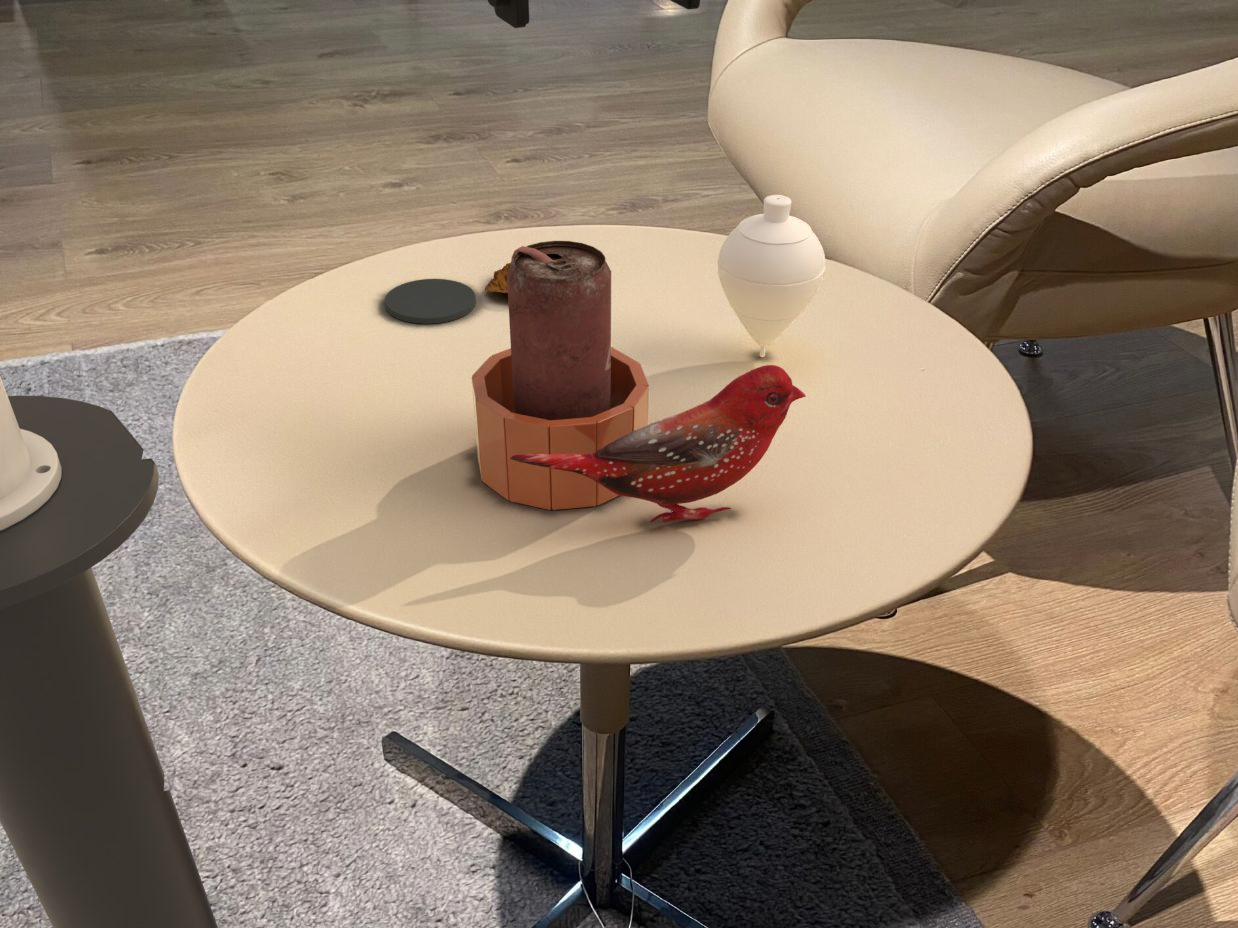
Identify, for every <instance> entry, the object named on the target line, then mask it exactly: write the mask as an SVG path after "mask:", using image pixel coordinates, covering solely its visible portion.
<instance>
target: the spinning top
mask: <svg viewBox="0 0 1238 928" xmlns="http://www.w3.org/2000/svg"><path fill="white" fill-rule="evenodd" d="M792 204H793V203H792V199H791V198H790V197H788V196H787V195H782V194H771V195H767V196H766V197H764V199H763V213H759V214H755V215H751V216H748V217H746V218H744V219H742V220H741V221H740V222H739V223H738V225H736V227H735V228H734V229H733V230H731V232H730V233H729V234H728V235H727V237H726V238H725V239H724V241H723V242H722V245H721V247H720V250H719V252H718V258H717V275H718V280H719V282H720V285H721V288H722V290H723V292H724V295H725V297H726V299H727V301H728V303H729V305H730V307H731V309H732V311H733V312H734V314H735V315H736V317H737V318H738V320H739V322H740V324H742V326H743V328H744V329H745V330H746V332H747V333H748V334H749V336H750V337H751V338H752V339H753V341H754V342H755V343H756V344H757V345H758V346H760V349H759V356H760V357H761V358H764V357H765V356H766V347H768V346H770V345H771V344H772V343H774V342H775V341H776V340H777V339H779V337H780V336H782V335H783V334H784V333H785V332H786V331H787V330H788V329H789V328H790V327H791V326H792V325H793V323H794V322H795V321H796V320H797V319H798V318H799V317H800V316H801V315H802V314H803V313H804V312H805V310H806V309H807V307H808V306H809V305H810V303H811V302H812V300H813V299H814V297H815V296H816V294H817V293H818V291H819V290H820V288H821V286H822V283H823V279H824V276H825V273H826V254H825V251H824V248H823V246H822V243H821V242H820V240H819V238H818V236H817V235H816V233H815V232H814V231H813V230H812V227H811V226H810V225H809V224H808V223H807V222H805V221H804V220H802V219H800V218H798V217H795V216H793V215H790V213H791V208H792Z"/></svg>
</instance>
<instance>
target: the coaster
mask: <svg viewBox="0 0 1238 928" xmlns="http://www.w3.org/2000/svg"><path fill="white" fill-rule="evenodd" d="M476 304H477V297H476V293H475V291H474V290H473V289H472V288H471V287H470V286H469V285H467V284H465V283H463V282H460V281H456V280H452V279H446V278H423V279H416V280H411V281H407V282H404V283H401V284H400V285H397V286H395V287H393V288H392V289H390V290H389V291H388V292H387V294H386V295H385V298H384V306H385V310H386V311H387V312H388V314H389V315H390V316H391V317H393V318H395V319H397V320H399V321H402V322H407V323H411V324H421V325H422V324H423V325H431V324H433V325H434V324H441V323H443V324H444V323H446V322H452V321H455V320H458V319H460V318H463V317H465V316H466V315H468V314H469V313H471V312H472V311H473V310H474V308H475V307H476Z"/></svg>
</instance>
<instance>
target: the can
mask: <svg viewBox="0 0 1238 928" xmlns="http://www.w3.org/2000/svg"><path fill="white" fill-rule="evenodd" d="M511 260H512V263H511V262H510V263H511V265H510V267H509V269H508V274H507V285H508V294H507V300H508V301H507V303H508V318H509V319H508V320H509V337H510V348H511V360H512V378H513V397H514V413H516V414H521V415H526V416H531V417H536V418H541V419H547V420H561V419H573V418H585V417H593V416H595V415H597V414H600V413H602V412H605V411H607V410H609V409H610V398H611V347H612V270H611V268H610V266H609V265H608V263H607V260H606V256H605V255H604V253H603V251H601V250H600V249H599V248H597V247H595V246H593V245H589V244H587V243H583V242H578V241H572V240H548V241H547V240H546V241H539V242H535V243H532V244H529V245H526V246H524V245H521V246H520V247H518V248H516V249H515V250H514V251H513V253H512V255H511Z"/></svg>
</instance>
